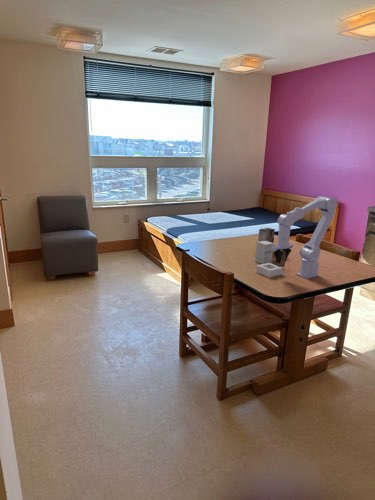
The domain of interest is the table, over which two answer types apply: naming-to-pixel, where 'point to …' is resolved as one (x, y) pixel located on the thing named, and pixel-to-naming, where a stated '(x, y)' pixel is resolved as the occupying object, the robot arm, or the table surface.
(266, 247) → the supplement box
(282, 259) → the brown rounded cylinder
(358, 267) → the table surface
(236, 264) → the table surface
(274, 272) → the hole block
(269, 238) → the coffee box
